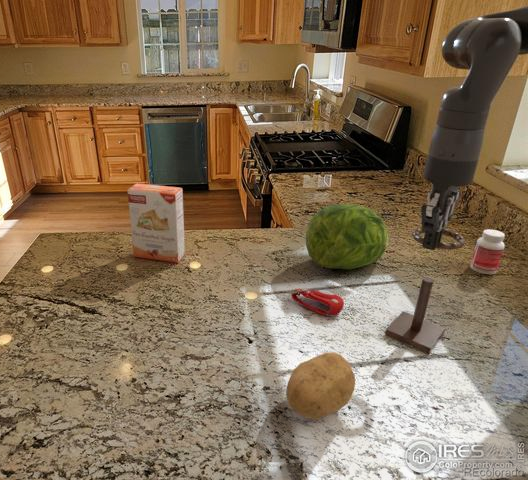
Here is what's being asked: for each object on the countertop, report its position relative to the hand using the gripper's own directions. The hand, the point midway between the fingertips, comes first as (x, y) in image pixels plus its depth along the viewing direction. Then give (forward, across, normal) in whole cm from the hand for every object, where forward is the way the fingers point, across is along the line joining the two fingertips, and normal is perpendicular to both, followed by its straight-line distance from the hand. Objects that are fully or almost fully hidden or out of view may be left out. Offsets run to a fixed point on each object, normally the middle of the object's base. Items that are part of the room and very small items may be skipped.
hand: (430, 246), depth 78 cm
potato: (+22, -27, +5) cm, 36 cm away
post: (+22, +4, 0) cm, 22 cm away
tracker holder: (+22, 0, +21) cm, 31 cm away
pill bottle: (+22, +44, -3) cm, 49 cm away
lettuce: (+22, +23, +26) cm, 41 cm away
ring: (0, +4, 0) cm, 4 cm away
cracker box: (+23, -10, +67) cm, 71 cm away
